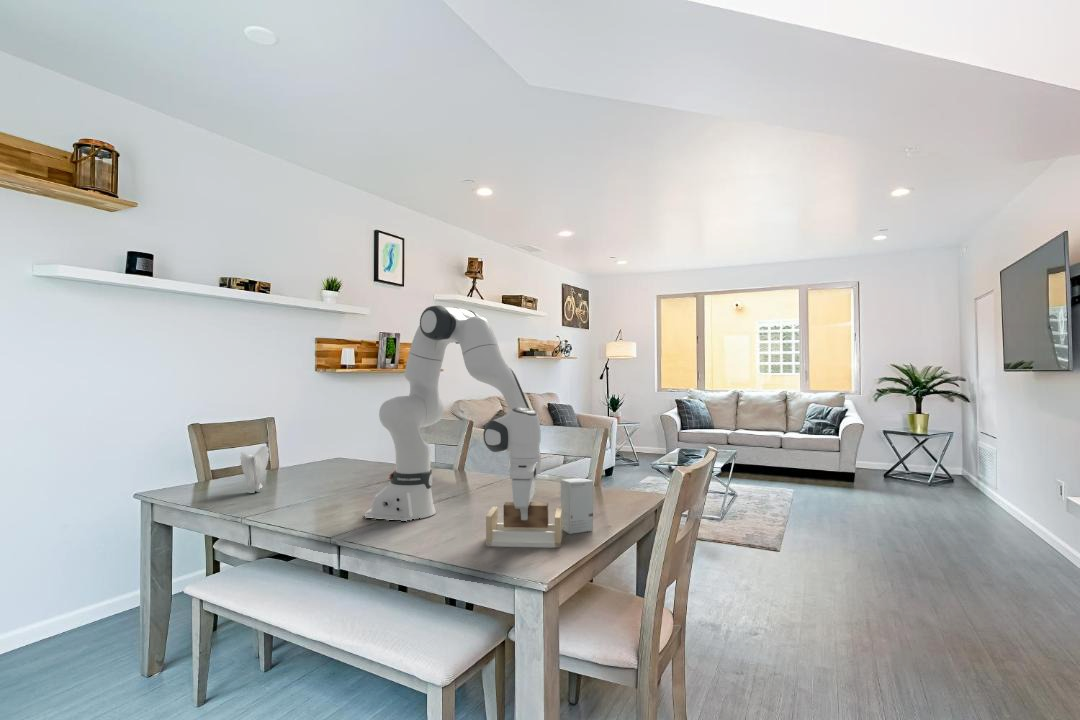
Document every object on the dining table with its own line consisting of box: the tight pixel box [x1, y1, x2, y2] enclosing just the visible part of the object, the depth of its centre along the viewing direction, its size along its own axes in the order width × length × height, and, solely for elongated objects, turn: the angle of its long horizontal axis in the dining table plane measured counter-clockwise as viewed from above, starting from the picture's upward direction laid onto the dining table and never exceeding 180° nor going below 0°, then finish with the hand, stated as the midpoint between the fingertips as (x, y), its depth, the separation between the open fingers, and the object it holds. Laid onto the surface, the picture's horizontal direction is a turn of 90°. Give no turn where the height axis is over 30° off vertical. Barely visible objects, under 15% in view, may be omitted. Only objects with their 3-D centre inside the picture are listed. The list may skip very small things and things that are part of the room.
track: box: [485, 506, 563, 549], centre depth 151 cm, size 20×10×8 cm, turn 85°
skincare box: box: [560, 477, 594, 535], centre depth 161 cm, size 8×6×15 cm
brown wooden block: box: [503, 501, 549, 528], centre depth 151 cm, size 12×4×6 cm, turn 85°
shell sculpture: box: [239, 445, 270, 490], centre depth 212 cm, size 8×8×18 cm
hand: (525, 516), depth 151 cm, fingers closed on brown wooden block, 4 cm apart
